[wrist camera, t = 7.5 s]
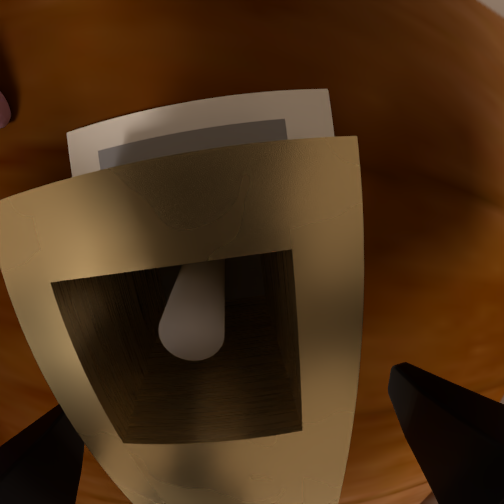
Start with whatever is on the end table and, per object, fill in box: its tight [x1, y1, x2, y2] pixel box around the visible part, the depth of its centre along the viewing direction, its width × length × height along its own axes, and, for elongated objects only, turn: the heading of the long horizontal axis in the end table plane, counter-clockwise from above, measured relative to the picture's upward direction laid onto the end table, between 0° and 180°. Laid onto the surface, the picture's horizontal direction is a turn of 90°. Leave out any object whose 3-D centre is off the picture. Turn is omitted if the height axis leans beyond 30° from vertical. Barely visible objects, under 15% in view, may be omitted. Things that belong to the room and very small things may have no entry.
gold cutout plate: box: [0, 136, 364, 504], centre depth 7 cm, size 12×4×5 cm, turn 7°
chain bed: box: [67, 89, 335, 361], centre depth 9 cm, size 16×9×6 cm, turn 7°
